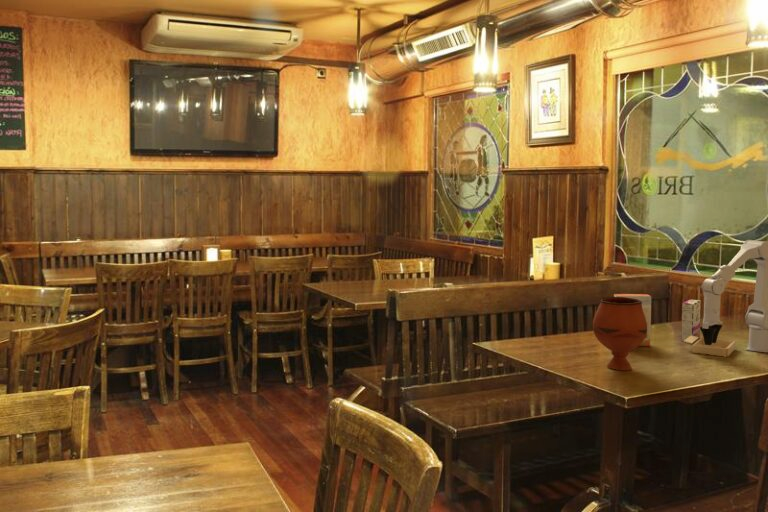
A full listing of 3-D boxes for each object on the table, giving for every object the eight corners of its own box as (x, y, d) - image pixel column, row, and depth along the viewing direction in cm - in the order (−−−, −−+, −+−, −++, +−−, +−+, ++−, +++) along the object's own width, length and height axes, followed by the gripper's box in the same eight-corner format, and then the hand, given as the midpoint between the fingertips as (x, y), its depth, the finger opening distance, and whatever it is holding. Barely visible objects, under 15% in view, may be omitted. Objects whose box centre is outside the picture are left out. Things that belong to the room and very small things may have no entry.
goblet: (604, 358, 292) (606, 293, 289) (654, 366, 280) (657, 299, 277) (582, 368, 277) (584, 300, 274) (634, 377, 265) (637, 306, 262)
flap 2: (694, 343, 297) (694, 344, 297) (720, 346, 292) (720, 347, 292) (695, 344, 300) (695, 345, 300) (722, 347, 294) (722, 348, 294)
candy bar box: (687, 336, 331) (689, 299, 329) (699, 338, 328) (701, 300, 326) (680, 341, 322) (681, 302, 320) (692, 342, 319) (694, 303, 317)
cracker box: (646, 343, 318) (648, 293, 315) (650, 346, 312) (652, 296, 309) (612, 342, 319) (613, 293, 317) (615, 346, 313) (616, 295, 311)
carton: (735, 349, 308) (735, 340, 307) (727, 357, 294) (728, 348, 294) (700, 345, 315) (701, 337, 315) (691, 352, 301) (692, 344, 301)
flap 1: (690, 335, 315) (690, 336, 315) (683, 340, 304) (683, 341, 304) (698, 337, 313) (698, 338, 313) (691, 342, 302) (691, 343, 302)
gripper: (716, 313, 288) (715, 348, 290) (728, 308, 299) (727, 342, 301) (697, 311, 293) (696, 346, 294) (709, 306, 304) (708, 339, 305)
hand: (710, 344), depth 298 cm, fingers open, 5 cm apart
